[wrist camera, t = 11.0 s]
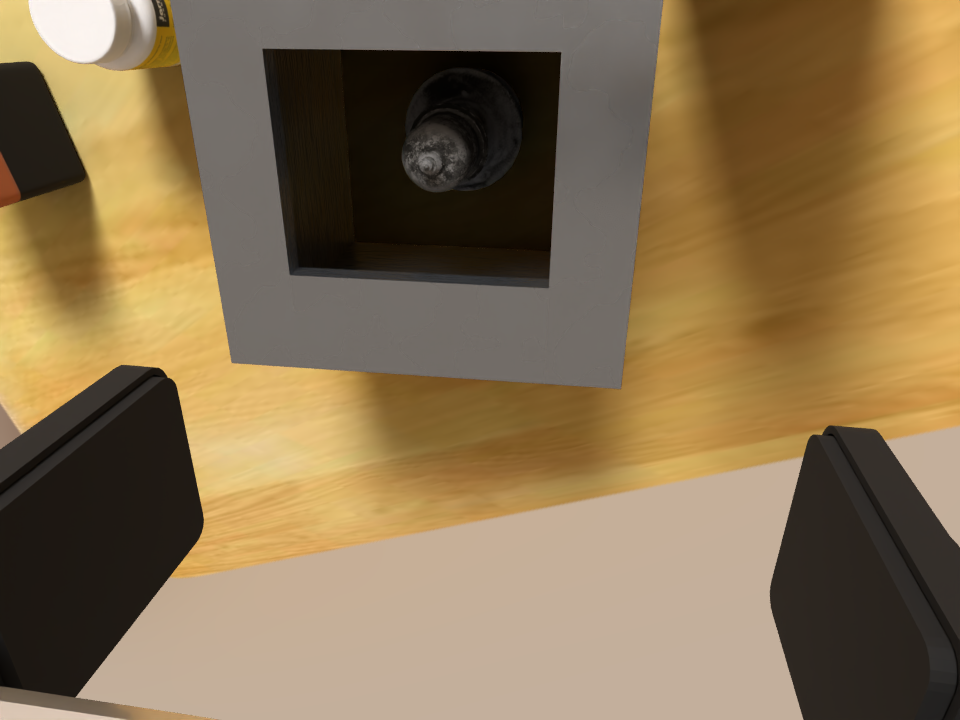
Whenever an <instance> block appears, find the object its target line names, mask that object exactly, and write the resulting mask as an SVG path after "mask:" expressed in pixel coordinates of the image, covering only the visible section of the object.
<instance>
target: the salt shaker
mask: <svg viewBox="0 0 960 720" xmlns="http://www.w3.org/2000/svg"><path fill="white" fill-rule="evenodd" d="M522 127H523V114H522V109H521V105H520V102H519V99H518V97H517V95H516V94H515V92H514V90H513V88H512V87H511V86H510V85H509V84H508V83H507V82H506V81H505V80H504V79H503V78H502V77H500V76H498V75H497V74H495V73H493V72H491V71H488V70H484V69H480V68H469V67H461V68H450V69H447V70H444V71H441V72H438V73H436V74H435V75H433V76H432V77H430V78H429V79H428V80H426V81H425V82H423V84H422V85H421V86H420V87H419V89H418V90H417V91H416V92H415V94H414V95H413V97H412V100H411V102H410V104H409V107H408V109H407V115H406V121H405V132H406V139H405V142H404V144H403V149H402V163H403V166H404V169H405V172H406V174H407V175H408V176H409V178H410V179H411V180H412V181H413V182H414V183H415V184H416V185H417V186H419V187H420V188H422V189H424V190H427V191H431V192H445V191H448V190H452V189H454V190H458V191H474V190H478V189H481V188H485V187H488V186H490V185H491V184H493V183H494V182H496V181H498V180H499V179H501V178H502V177H503V176H504V175H505V173H506V172H507V171H508V170H509V169H510V168H511V167H512V165H513V163H514V161H515V159H516V157H517V155H518V153H519V149H520V145H521V141H522Z"/></svg>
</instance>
